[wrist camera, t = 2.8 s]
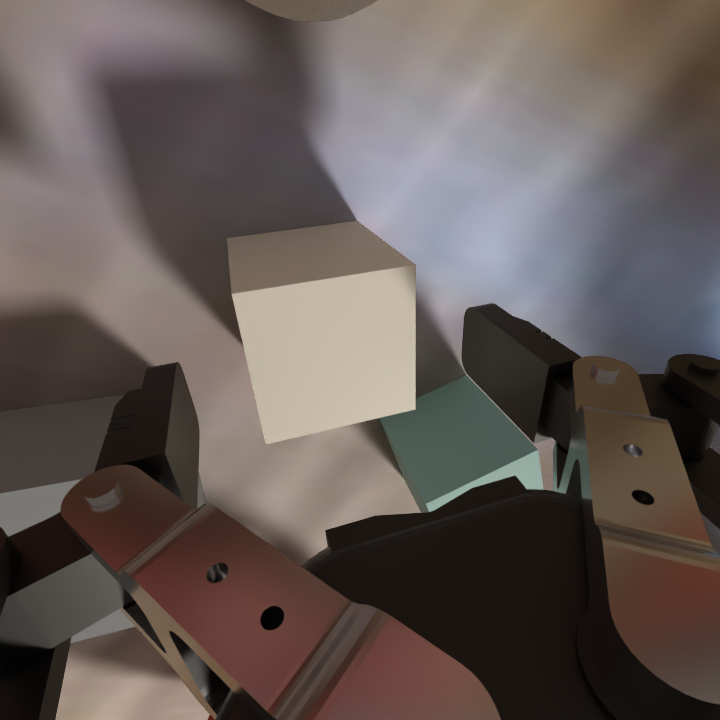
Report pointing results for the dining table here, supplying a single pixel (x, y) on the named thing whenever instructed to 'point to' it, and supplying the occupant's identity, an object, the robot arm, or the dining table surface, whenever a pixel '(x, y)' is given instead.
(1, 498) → the slate base block
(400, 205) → the dining table surface
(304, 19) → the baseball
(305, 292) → the cream block
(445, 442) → the teal block
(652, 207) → the dining table surface
